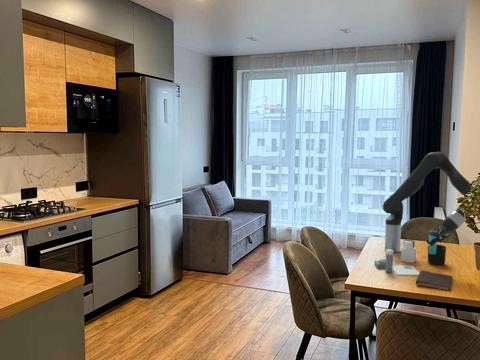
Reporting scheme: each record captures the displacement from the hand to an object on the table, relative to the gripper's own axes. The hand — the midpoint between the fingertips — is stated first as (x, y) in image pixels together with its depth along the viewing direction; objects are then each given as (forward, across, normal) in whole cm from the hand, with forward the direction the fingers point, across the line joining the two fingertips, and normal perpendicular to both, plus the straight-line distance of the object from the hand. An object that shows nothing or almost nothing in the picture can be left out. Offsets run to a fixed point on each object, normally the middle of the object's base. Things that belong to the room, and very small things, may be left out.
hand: (428, 243), depth 226 cm
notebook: (+13, +18, +8) cm, 24 cm away
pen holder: (+4, -16, +18) cm, 24 cm away
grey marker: (+25, +3, -4) cm, 26 cm away
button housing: (+26, -7, -5) cm, 28 cm away
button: (+25, -7, -6) cm, 27 cm away
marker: (+2, 0, +5) cm, 6 cm away
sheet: (+19, 0, +2) cm, 19 cm away
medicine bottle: (+14, -21, +8) cm, 26 cm away
